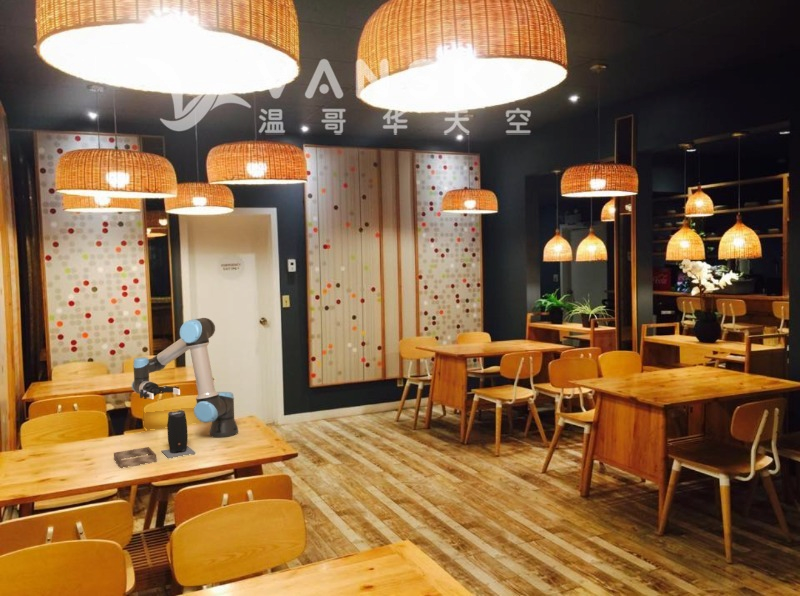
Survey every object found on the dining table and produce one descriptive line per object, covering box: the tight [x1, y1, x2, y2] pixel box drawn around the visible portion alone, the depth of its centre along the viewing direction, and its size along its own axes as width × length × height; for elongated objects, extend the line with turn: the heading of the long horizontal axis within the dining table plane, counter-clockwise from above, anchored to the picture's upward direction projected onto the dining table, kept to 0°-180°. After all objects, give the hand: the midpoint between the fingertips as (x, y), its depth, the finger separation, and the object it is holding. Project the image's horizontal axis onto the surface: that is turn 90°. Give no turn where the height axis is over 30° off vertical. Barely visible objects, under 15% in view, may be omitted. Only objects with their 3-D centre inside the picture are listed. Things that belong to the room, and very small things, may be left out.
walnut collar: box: [113, 446, 158, 469], centre depth 305 cm, size 16×16×4 cm
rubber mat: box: [161, 445, 196, 459], centre depth 316 cm, size 13×13×1 cm
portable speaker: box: [166, 409, 189, 453], centre depth 315 cm, size 9×9×20 cm
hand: (166, 394), depth 323 cm, fingers open, 13 cm apart
